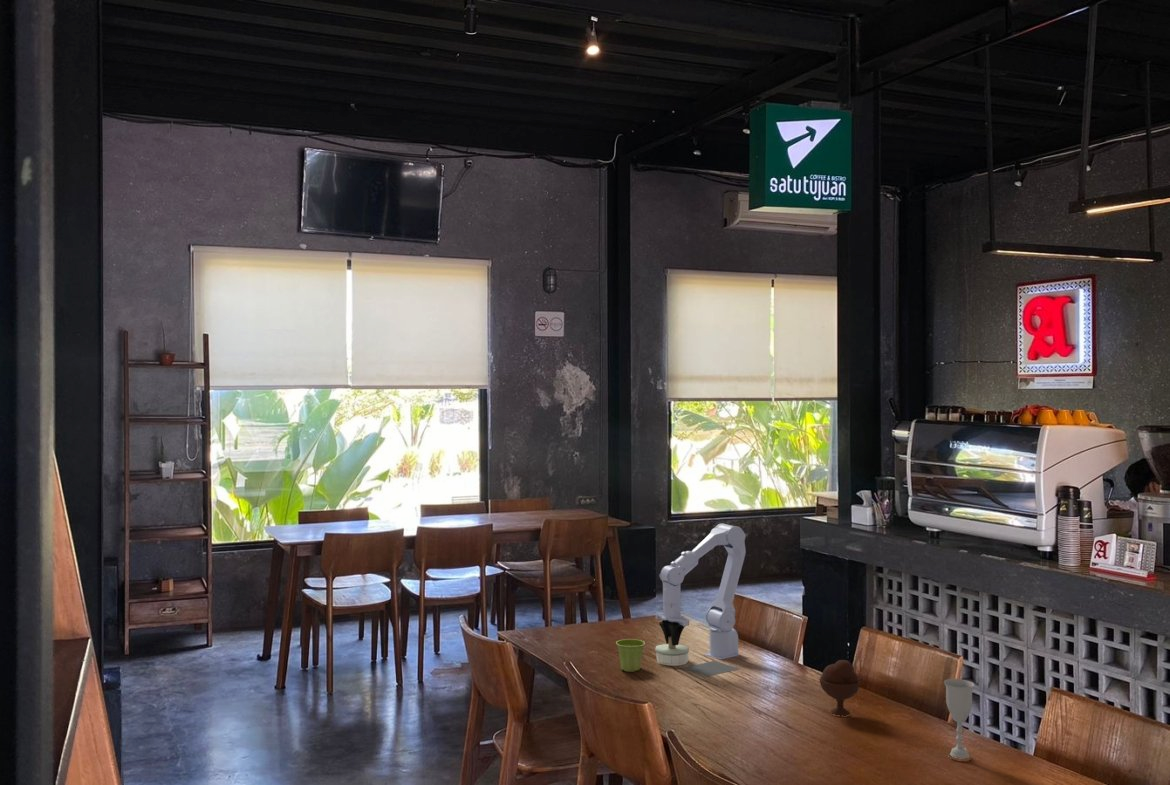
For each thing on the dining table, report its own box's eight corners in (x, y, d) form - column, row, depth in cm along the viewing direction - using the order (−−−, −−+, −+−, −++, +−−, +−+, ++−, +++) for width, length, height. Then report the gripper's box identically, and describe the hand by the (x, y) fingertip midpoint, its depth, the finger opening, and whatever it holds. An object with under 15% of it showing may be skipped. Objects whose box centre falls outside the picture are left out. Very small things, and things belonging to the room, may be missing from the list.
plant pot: (645, 665, 322) (645, 639, 322) (644, 673, 313) (644, 646, 313) (617, 665, 323) (616, 638, 323) (615, 673, 314) (614, 645, 314)
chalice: (939, 753, 241) (938, 679, 241) (966, 752, 242) (965, 678, 242) (952, 764, 234) (952, 688, 234) (980, 763, 235) (979, 687, 235)
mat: (713, 662, 326) (713, 660, 326) (740, 669, 316) (740, 668, 316) (681, 669, 318) (681, 668, 318) (708, 677, 308) (708, 676, 308)
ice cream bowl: (861, 709, 275) (861, 655, 275) (859, 722, 265) (858, 666, 265) (822, 706, 279) (822, 652, 279) (818, 718, 268) (817, 662, 268)
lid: (675, 644, 333) (675, 632, 333) (695, 651, 324) (695, 638, 324) (648, 649, 327) (648, 636, 327) (669, 656, 318) (669, 642, 318)
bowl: (673, 656, 333) (673, 646, 333) (694, 663, 325) (694, 652, 325) (650, 661, 327) (650, 650, 327) (671, 668, 319) (670, 657, 319)
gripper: (648, 600, 329) (648, 641, 329) (677, 608, 318) (677, 650, 318) (664, 598, 334) (664, 638, 333) (693, 605, 322) (694, 647, 322)
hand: (672, 644), depth 326 cm, fingers closed on lid, 2 cm apart
